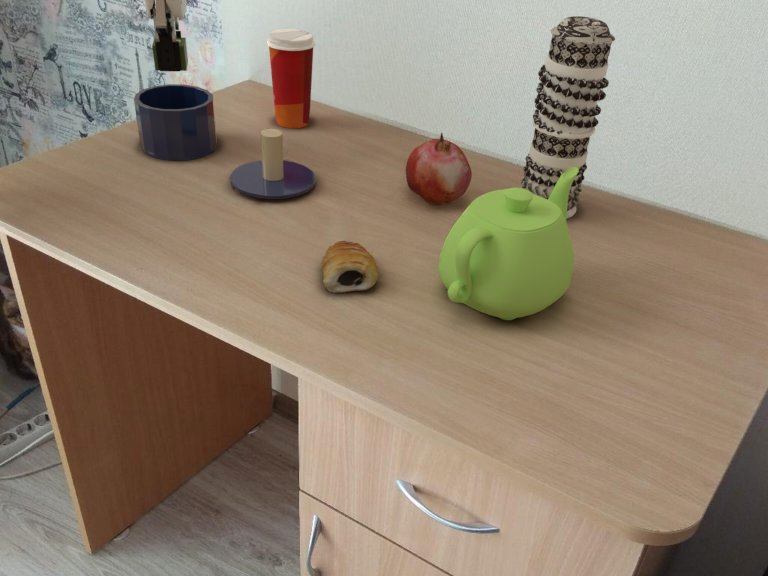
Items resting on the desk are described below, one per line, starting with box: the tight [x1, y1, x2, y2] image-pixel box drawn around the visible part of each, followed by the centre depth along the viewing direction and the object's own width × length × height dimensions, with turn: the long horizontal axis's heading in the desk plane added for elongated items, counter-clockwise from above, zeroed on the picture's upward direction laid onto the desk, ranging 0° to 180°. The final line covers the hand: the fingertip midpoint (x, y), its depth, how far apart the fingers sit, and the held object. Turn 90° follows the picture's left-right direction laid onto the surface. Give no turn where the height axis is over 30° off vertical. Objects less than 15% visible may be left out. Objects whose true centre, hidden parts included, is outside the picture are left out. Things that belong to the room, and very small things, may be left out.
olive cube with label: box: [151, 37, 189, 72], centre depth 112 cm, size 4×4×4 cm
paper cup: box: [266, 28, 316, 129], centre depth 127 cm, size 8×8×14 cm
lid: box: [229, 128, 317, 200], centre depth 110 cm, size 12×12×8 cm
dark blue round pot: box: [133, 83, 218, 162], centre depth 119 cm, size 11×11×8 cm
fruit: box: [405, 132, 473, 206], centre depth 109 cm, size 9×10×10 cm
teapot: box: [437, 167, 578, 321], centre depth 90 cm, size 22×15×13 cm
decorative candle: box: [520, 15, 616, 219], centre depth 105 cm, size 9×9×25 cm
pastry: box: [320, 240, 380, 294], centre depth 93 cm, size 9×7×4 cm
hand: (171, 63), depth 113 cm, fingers closed on olive cube with label, 4 cm apart
